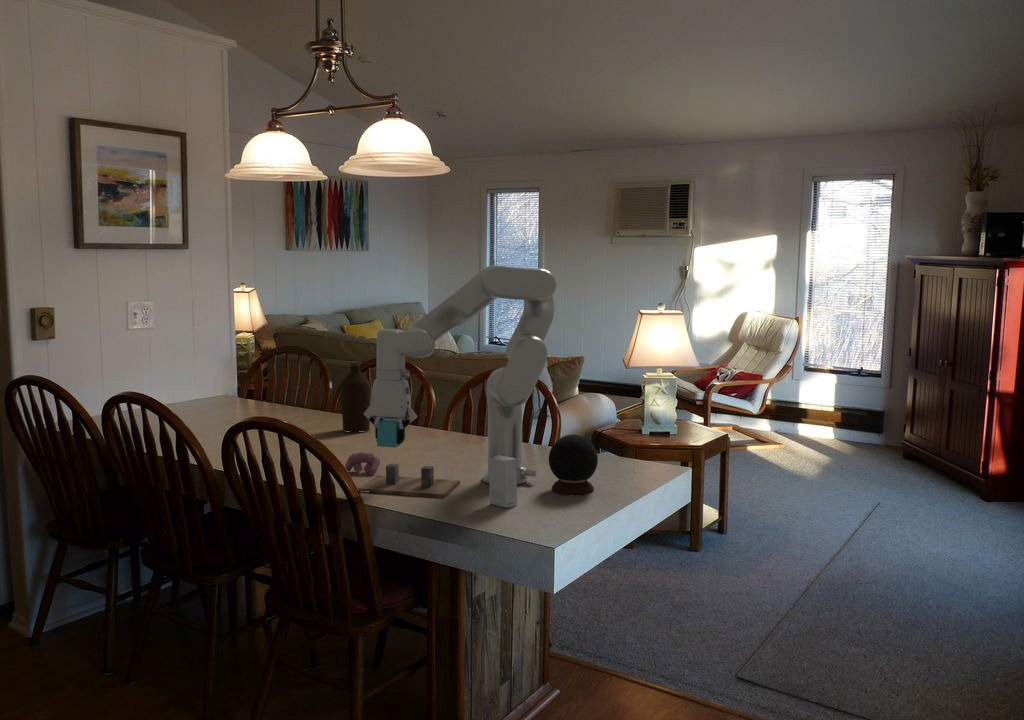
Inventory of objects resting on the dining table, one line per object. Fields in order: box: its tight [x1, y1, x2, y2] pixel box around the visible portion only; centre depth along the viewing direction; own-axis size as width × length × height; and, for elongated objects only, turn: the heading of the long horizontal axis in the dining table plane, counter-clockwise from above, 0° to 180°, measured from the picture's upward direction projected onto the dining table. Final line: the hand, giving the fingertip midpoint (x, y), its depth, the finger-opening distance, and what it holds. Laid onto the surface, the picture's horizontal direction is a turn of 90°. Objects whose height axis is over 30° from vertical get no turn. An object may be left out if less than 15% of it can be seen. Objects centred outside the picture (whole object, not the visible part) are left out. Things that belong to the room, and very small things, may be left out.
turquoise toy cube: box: [376, 418, 403, 449], centre depth 226 cm, size 5×5×7 cm
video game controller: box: [344, 451, 381, 476], centre depth 243 cm, size 10×5×7 cm, turn 75°
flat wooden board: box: [357, 465, 461, 499], centre depth 227 cm, size 24×14×6 cm, turn 77°
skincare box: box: [488, 455, 518, 509], centre depth 211 cm, size 6×4×12 cm
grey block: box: [385, 463, 400, 485], centre depth 228 cm, size 3×3×5 cm
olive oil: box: [340, 360, 372, 432], centre depth 301 cm, size 11×11×25 cm
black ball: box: [548, 434, 599, 497], centre depth 225 cm, size 13×13×15 cm
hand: (390, 441), depth 226 cm, fingers closed on turquoise toy cube, 5 cm apart
